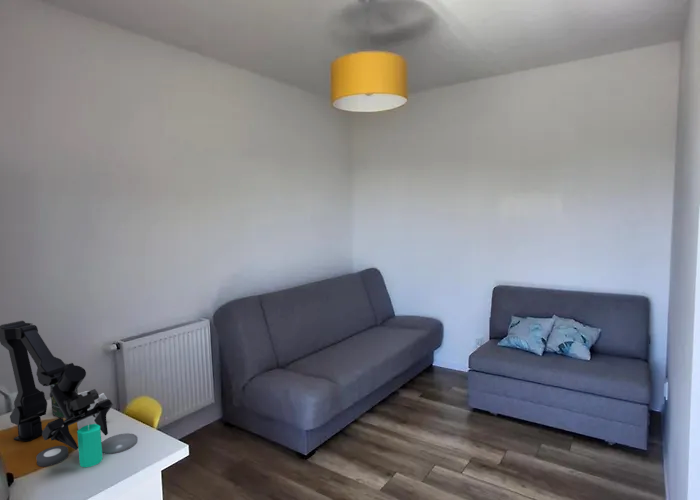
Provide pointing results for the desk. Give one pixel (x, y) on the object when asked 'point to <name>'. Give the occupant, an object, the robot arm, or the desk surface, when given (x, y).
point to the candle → (89, 445)
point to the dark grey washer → (52, 456)
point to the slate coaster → (118, 443)
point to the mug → (90, 419)
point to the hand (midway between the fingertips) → (92, 441)
